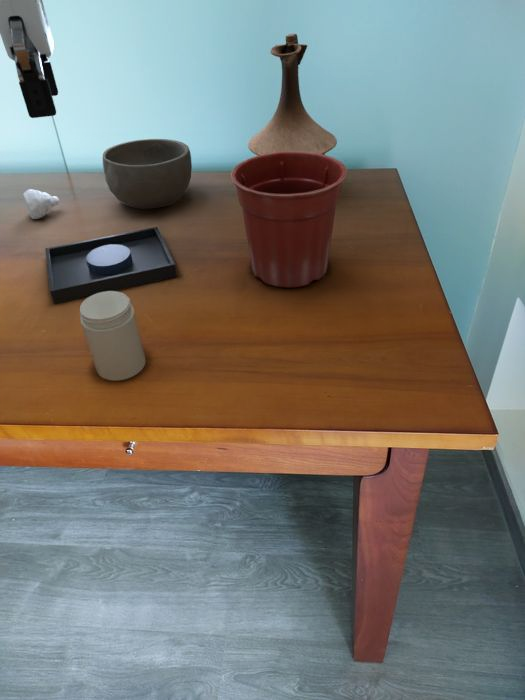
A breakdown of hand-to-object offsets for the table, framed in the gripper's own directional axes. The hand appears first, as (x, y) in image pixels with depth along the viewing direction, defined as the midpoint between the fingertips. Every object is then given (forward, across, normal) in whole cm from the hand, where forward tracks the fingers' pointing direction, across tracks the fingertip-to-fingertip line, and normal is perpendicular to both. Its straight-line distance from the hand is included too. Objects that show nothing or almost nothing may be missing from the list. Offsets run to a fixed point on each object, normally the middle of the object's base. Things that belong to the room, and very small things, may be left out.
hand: (45, 105), depth 68 cm
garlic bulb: (+26, +27, +8) cm, 39 cm away
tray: (+26, +2, -3) cm, 27 cm away
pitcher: (+26, +21, -40) cm, 53 cm away
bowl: (+26, +27, -13) cm, 40 cm away
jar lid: (+24, +2, -3) cm, 24 cm away
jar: (+26, -23, -3) cm, 35 cm away
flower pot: (+26, -7, -31) cm, 41 cm away
